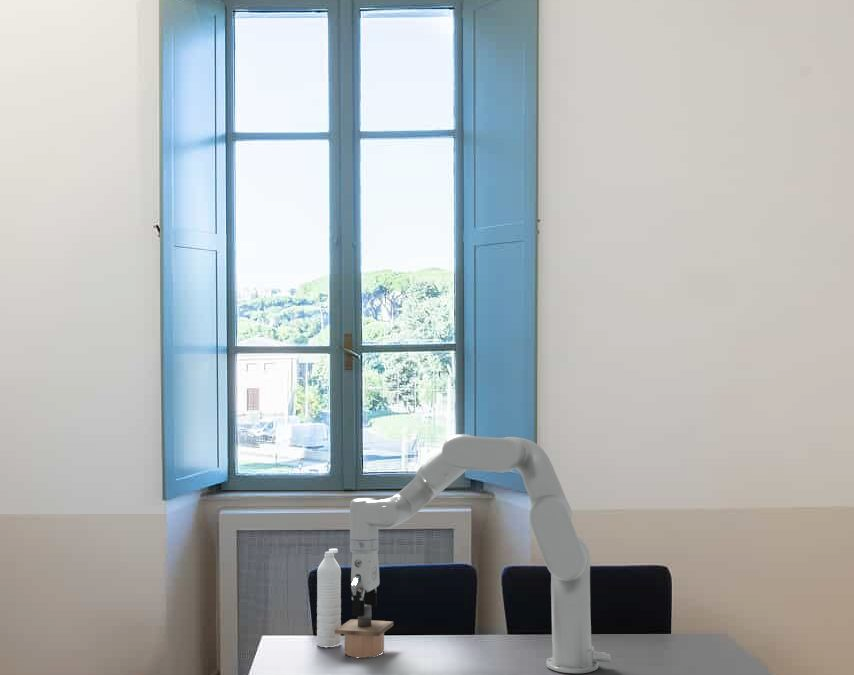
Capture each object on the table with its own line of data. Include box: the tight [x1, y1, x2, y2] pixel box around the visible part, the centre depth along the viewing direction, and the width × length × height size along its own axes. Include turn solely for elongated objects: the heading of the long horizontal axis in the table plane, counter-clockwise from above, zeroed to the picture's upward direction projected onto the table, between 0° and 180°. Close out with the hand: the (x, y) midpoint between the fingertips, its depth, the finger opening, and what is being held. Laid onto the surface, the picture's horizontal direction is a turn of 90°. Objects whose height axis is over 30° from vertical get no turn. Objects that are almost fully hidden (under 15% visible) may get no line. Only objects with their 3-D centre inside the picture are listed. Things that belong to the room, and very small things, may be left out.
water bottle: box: [316, 548, 342, 646], centre depth 230 cm, size 9×6×25 cm
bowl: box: [344, 632, 385, 659], centre depth 220 cm, size 10×10×6 cm
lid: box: [335, 605, 394, 636], centre depth 221 cm, size 12×12×6 cm
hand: (364, 611), depth 221 cm, fingers open, 9 cm apart
